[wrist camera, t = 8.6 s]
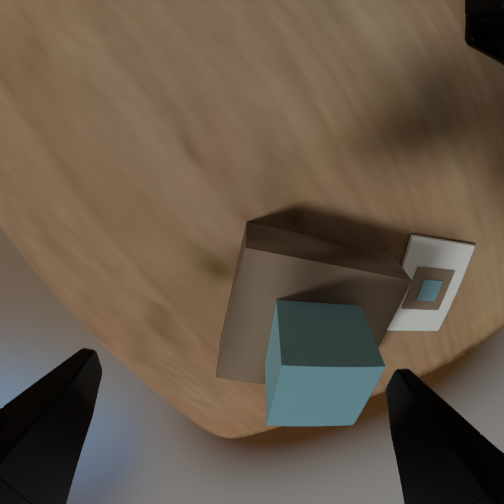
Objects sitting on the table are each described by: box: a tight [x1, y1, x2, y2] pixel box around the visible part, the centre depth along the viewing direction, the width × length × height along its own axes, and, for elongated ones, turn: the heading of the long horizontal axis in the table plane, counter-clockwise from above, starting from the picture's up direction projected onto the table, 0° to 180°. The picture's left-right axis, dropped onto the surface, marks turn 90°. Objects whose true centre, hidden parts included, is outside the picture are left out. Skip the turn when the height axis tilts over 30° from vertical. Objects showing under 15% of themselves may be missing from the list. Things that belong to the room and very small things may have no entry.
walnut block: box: [216, 222, 412, 384], centre depth 21 cm, size 10×10×4 cm
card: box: [387, 234, 475, 331], centre depth 22 cm, size 6×8×1 cm
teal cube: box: [265, 300, 385, 426], centre depth 17 cm, size 5×5×5 cm
